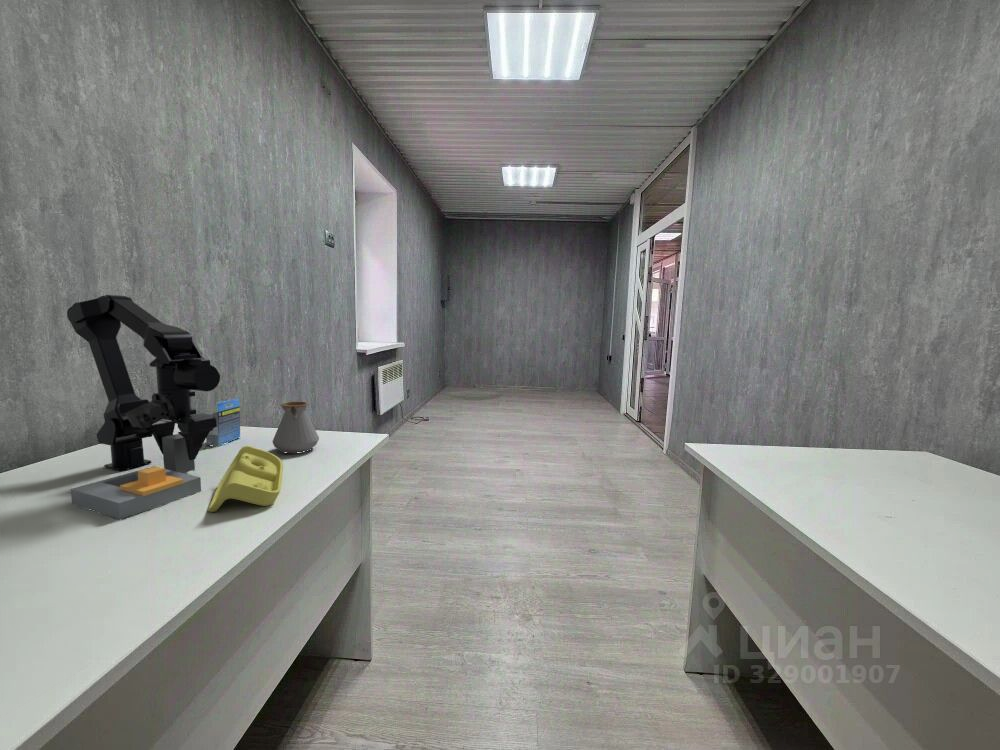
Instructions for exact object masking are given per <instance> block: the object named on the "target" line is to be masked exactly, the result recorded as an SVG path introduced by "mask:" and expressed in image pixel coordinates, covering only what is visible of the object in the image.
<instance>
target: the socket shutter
mask: <svg viewBox="0 0 1000 750" xmlns="http://www.w3.org/2000/svg"><path fill="white" fill-rule="evenodd" d="M146 468H147V469H146ZM146 468H143V470H142V469H139V470H137V471H138V480H137V481H134V482H130V483H127V484H123V485H120V490H123V491H127V492H131V493H134V494H138V495H142V496H145V495H148V494H151V493H155V492H158V491H161V490H164V489H167V488H170V487H173V486H176V485H180V484H183V483H184V479H181V478H177V477H172V476H168V475H166V474H165V468H164V467H161V466H156V465H154V467H153V466H151V467H146Z"/></svg>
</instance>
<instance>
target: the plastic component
mask: <svg viewBox="0 0 1000 750" xmlns="http://www.w3.org/2000/svg"><path fill="white" fill-rule="evenodd" d="M283 473H284V463H283V461H282V459H281V458H280V457H278V456H276V455H275V454H274V453H272V452H269V451H266V450H263V449H261V448H257V447H253V446H250V445H244V446H242V447H241V448H240V449H239V451H238V452H237V454H236V456H235V457H234V459H233V460H232V461H231V463H230V465H229V467H228V468H227V469H226V471H225V473H224V475H223V477H222V478H221V479H220V482H219V484H218V486H217V487H216V489H215V491H214V493H213V496H212V499H211V500H210V503H209V505H208V508H207V512H209V513H210V512H211V513H215V512H216V511H218V509H220V507H221V506H222V504H223V503H224V502H225V501H226V500H229V499H234V500H237V501H241V502H246V503H250V504H254V505H258V506H261V507H262V506H263V507H269V506H272V505H273V504H275V502H276V500H277V498H278V496H279V494H280V492H281V491H282V483H283Z"/></svg>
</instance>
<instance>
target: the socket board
mask: <svg viewBox="0 0 1000 750" xmlns="http://www.w3.org/2000/svg"><path fill="white" fill-rule="evenodd" d="M154 466H155V465H154ZM154 466H152V467H154ZM147 468H148V467H146V468H145V469H147ZM143 469H144V468H143ZM143 469H141V470H143ZM138 471H139V470H135V471H131V472H127V473H125V474H119V475H117V476H112V477H108V478H106V479H103V480H98V481H95V482H91V483H88V484H84V485H80V486H76V487H72V488H70V495H71V496H70V497H71V505H73V504H74V506H76V505H77V507H79V506H80V508H83V507H84V508H83V509H86V508H87V510H89V509H91V510H90V511H92V510H94V511H93V512H95V511H96V512H95V513H98V512H99V514H102V515H105V516H108V515H109V517H111V516H112V518H114V517H115V519H117V518H118V520H123V519H126V518H128V516H129V517H132V516H135V515H138V514H141V513H143V512H146V511H148V510H152V509H155V508H157V507H160V506H163V505H166V504H170V503H171V502H174V501H178V500H180V499H183V498H186V497H190V496H191V494H192V495H194V493H195V494H197V492H198V493H200V491H201V492H202V481H201V477H200V476H196V475H194V474H193V475H192V474H188V473H187V474H184V473H180V472H176V471H171V470H167V469H165V474H166V475H168V476H172V477H177V478H181V479H184V483H183V484H180V485H176V486H173V487H170V488H167V489H164V490H161V491H158V492H155V493H151V494H148V495H145V496H142V495H138V494H134V493H131V492H127V491H123V490H120V485H123V484H127V483H130V482H134V481H137V480H138ZM140 512H141V513H140ZM137 513H138V514H137ZM134 514H135V515H134ZM131 515H132V516H131ZM125 517H126V518H125ZM122 518H123V519H122Z"/></svg>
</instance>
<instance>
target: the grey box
mask: <svg viewBox="0 0 1000 750" xmlns="http://www.w3.org/2000/svg"><path fill="white" fill-rule="evenodd" d="M162 445H163V454H162V455H163V456H162V459H163V468H165V469H167V470H171V471H176V472H180V473H184V474H188V472H191V471H194V470H196V465H195V464H196V463H195V459H194V460H189V457H188V453H187V447H186V442H185V438H184V437H183V436H181V435H180V434H178V433H175V434H173V435H170V436H166V437H162Z"/></svg>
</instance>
